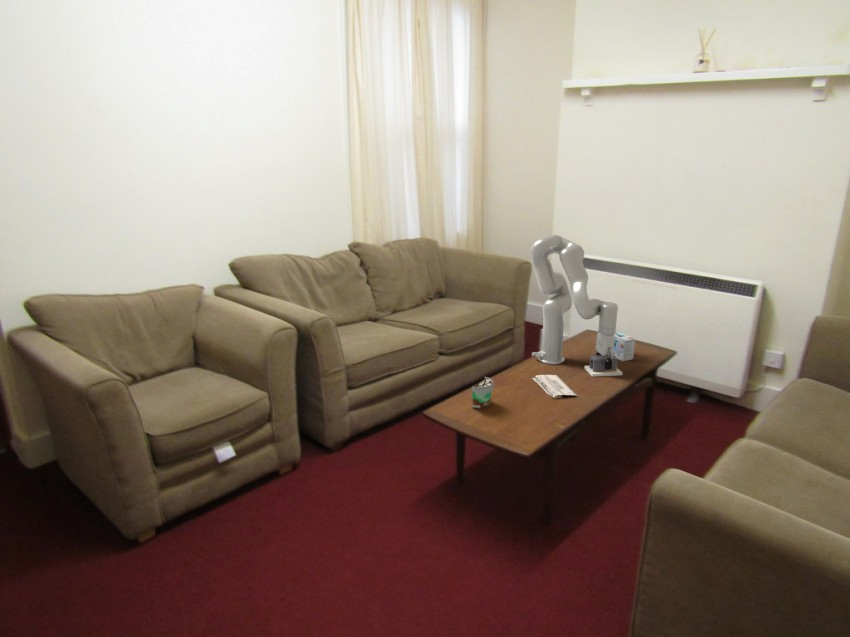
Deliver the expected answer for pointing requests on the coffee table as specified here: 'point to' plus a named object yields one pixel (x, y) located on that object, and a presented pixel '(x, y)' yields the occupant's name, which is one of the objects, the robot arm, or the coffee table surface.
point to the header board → (602, 372)
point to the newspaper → (553, 385)
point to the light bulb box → (623, 346)
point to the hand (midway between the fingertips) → (603, 364)
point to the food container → (482, 394)
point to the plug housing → (601, 363)
